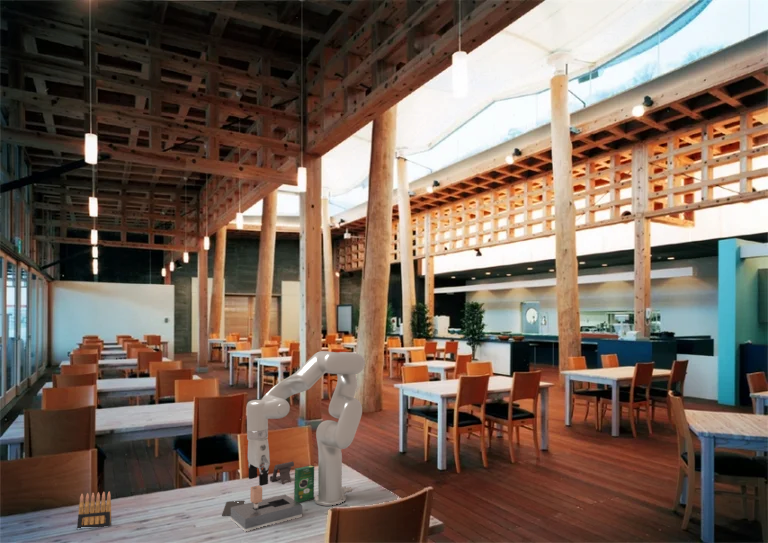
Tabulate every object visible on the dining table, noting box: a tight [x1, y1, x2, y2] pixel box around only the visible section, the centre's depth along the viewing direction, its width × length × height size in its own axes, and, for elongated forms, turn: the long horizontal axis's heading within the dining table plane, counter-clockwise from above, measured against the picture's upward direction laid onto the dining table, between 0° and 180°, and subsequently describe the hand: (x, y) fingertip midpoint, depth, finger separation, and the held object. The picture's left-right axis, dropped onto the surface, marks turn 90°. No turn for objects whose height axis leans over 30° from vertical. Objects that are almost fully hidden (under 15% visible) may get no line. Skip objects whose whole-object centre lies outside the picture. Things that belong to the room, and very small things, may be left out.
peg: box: [249, 485, 263, 510], centre depth 190 cm, size 4×4×11 cm
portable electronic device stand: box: [269, 460, 295, 485], centre depth 235 cm, size 9×8×8 cm
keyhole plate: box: [230, 494, 303, 533], centre depth 192 cm, size 22×14×4 cm, turn 127°
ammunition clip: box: [76, 491, 112, 529], centre depth 185 cm, size 11×2×12 cm, turn 105°
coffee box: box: [293, 465, 315, 503], centre depth 210 cm, size 8×3×13 cm, turn 129°
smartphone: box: [221, 500, 246, 517], centre depth 202 cm, size 7×1×15 cm
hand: (258, 481), depth 191 cm, fingers open, 9 cm apart
